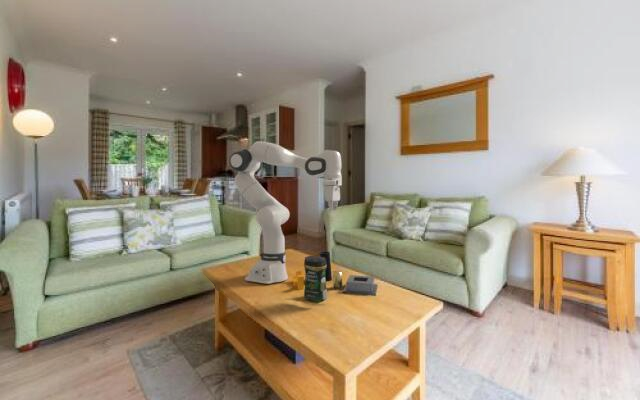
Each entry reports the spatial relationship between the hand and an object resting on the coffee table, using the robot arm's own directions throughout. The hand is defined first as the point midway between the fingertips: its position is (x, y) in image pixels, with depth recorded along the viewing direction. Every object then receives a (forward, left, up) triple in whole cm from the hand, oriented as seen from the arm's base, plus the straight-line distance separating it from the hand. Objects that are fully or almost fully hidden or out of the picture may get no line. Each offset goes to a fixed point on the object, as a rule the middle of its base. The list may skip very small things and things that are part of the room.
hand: (333, 210), depth 141 cm
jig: (+14, -2, -38) cm, 40 cm away
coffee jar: (-4, -19, -38) cm, 43 cm away
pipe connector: (-7, +5, -38) cm, 39 cm away
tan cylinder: (+3, -3, -38) cm, 38 cm away
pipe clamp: (-17, -4, -38) cm, 42 cm away
